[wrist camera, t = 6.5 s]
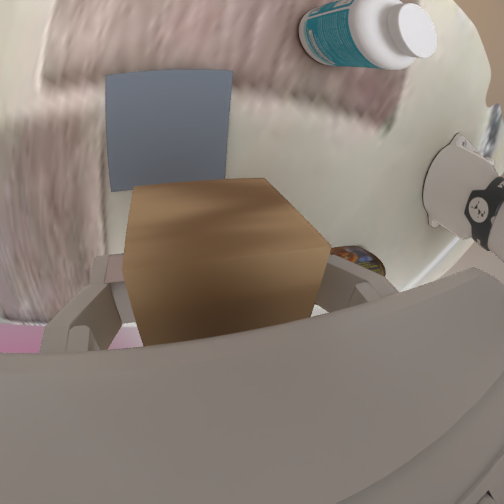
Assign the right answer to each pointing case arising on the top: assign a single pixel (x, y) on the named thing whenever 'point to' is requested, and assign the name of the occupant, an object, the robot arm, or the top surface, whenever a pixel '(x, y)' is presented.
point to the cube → (218, 259)
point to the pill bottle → (368, 34)
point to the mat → (167, 126)
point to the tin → (360, 258)
